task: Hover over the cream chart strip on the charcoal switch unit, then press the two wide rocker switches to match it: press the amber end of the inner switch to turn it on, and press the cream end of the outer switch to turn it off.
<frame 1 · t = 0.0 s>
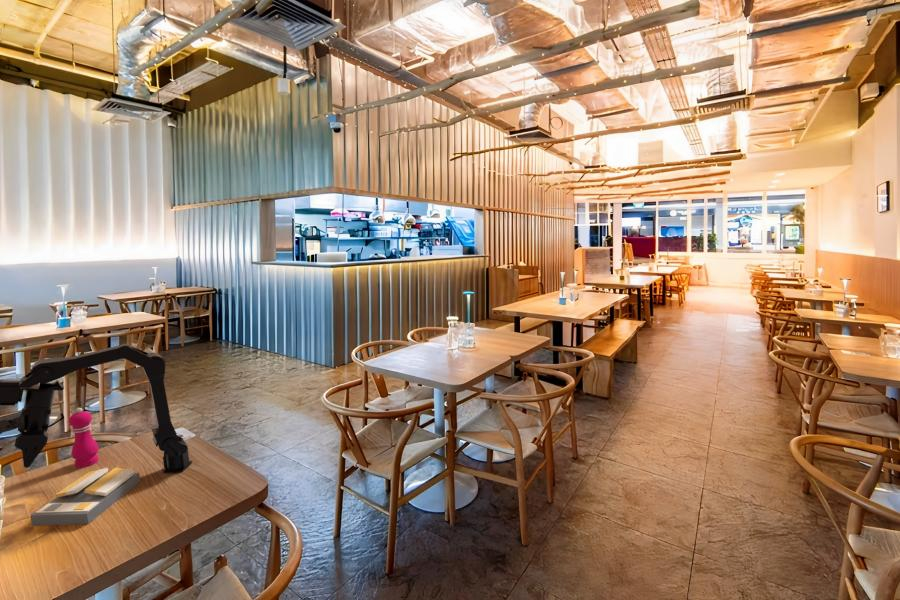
hand: (27, 460, 121), 15 cm above the table, tool pointing down, fingers open, 9 cm apart
switch a: (111, 481, 130), point 4 cm above the table, hinge at -12.0°
switch unit: (90, 501, 128), on the table
switch b: (83, 481, 130), point 4 cm above the table, hinge at 12.0°
pepper mill: (87, 463, 150), on the table
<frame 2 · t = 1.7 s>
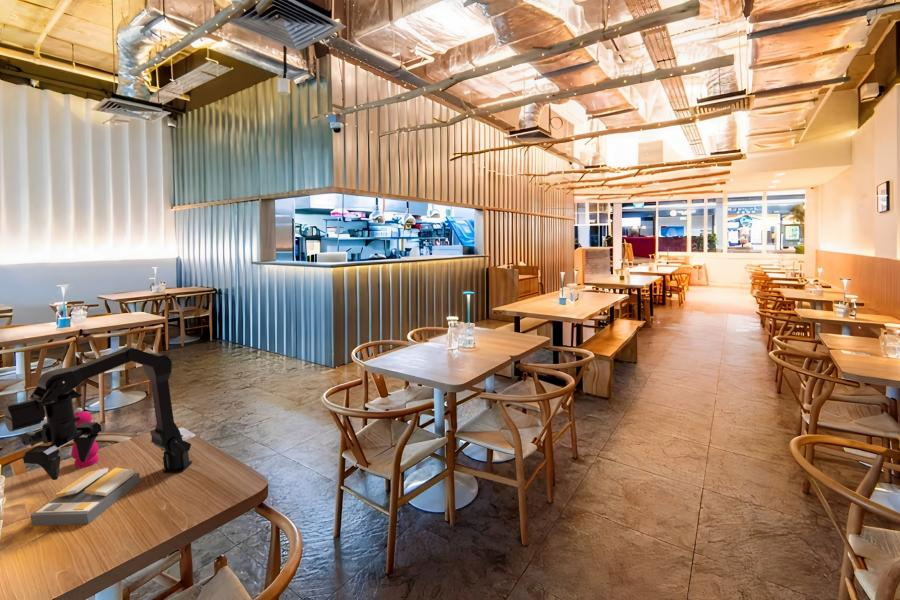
hand: (69, 470, 121), 13 cm above the table, tool pointing down, fingers open, 9 cm apart
nothing on the table moved.
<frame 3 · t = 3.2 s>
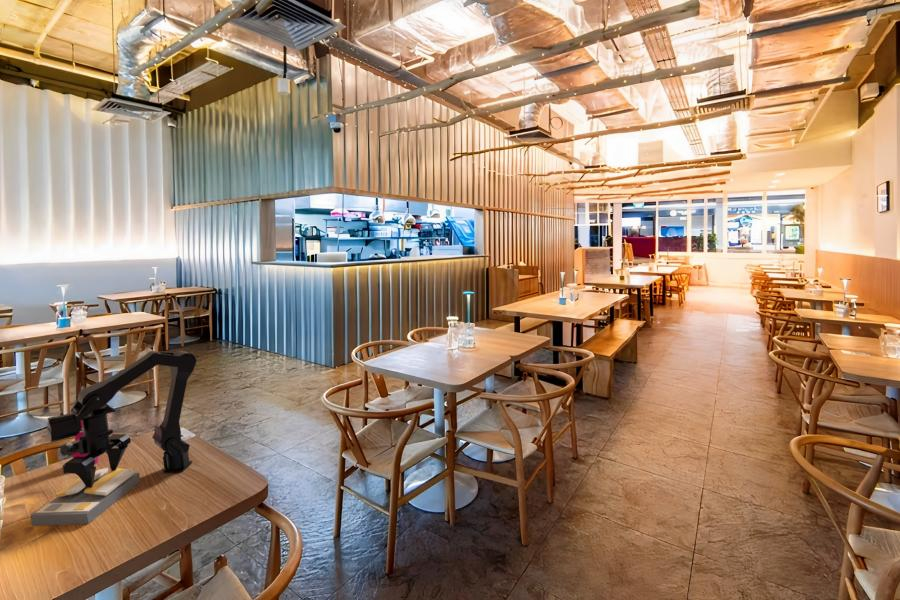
hand: (102, 479, 130), 5 cm above the table, tool pointing down
switch a: (111, 481, 130), point 4 cm above the table, hinge at -9.8°, touching gripper
everything else where it was.
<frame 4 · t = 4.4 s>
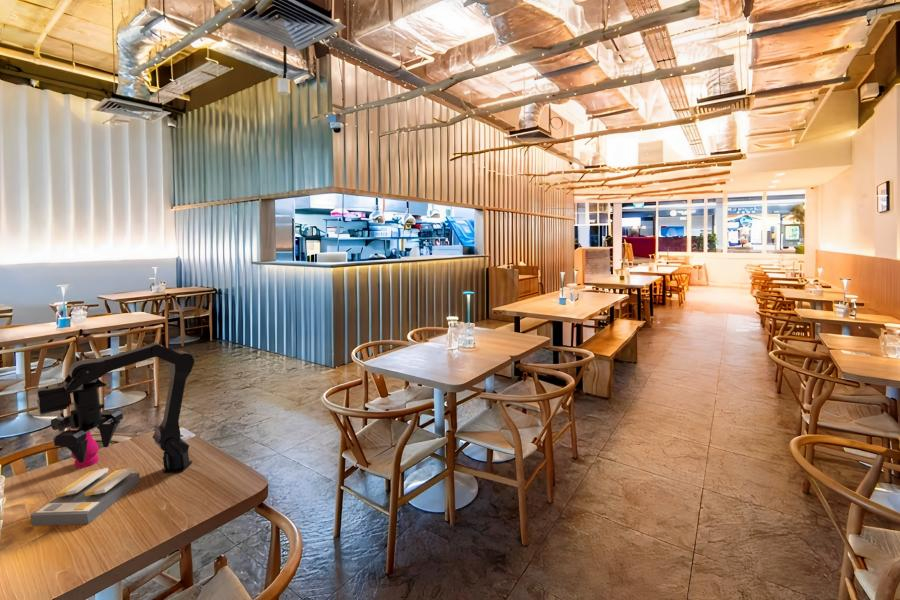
hand: (94, 454, 129), 13 cm above the table, tool pointing down, fingers open, 9 cm apart
switch a: (110, 481, 130), point 4 cm above the table, hinge at 9.8°
everything else where it was.
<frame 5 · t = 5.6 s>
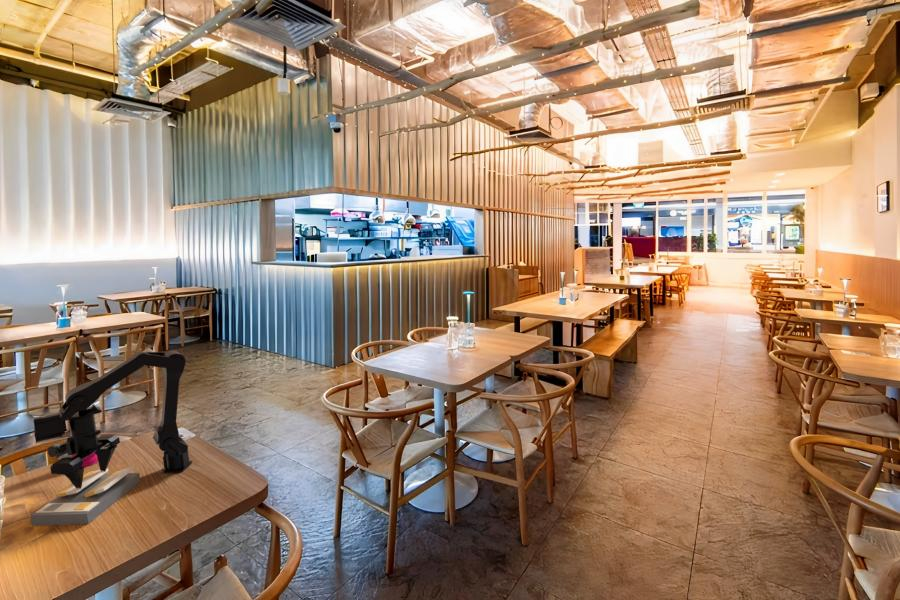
hand: (91, 479, 130), 5 cm above the table, tool pointing down
switch a: (110, 481, 130), point 4 cm above the table, hinge at 19.0°
switch b: (83, 481, 130), point 4 cm above the table, hinge at 11.3°, touching gripper
everything else where it was.
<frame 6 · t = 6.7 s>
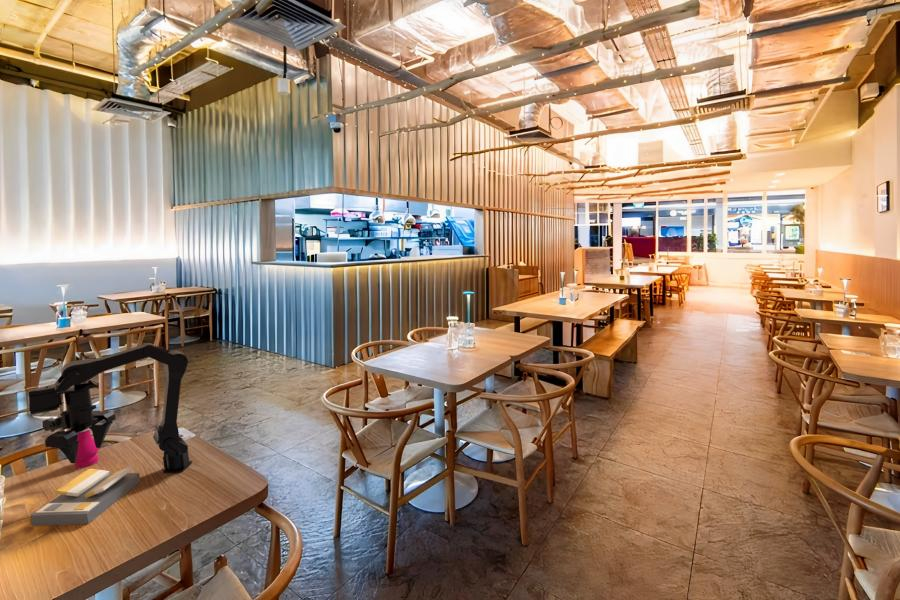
hand: (86, 455, 129), 13 cm above the table, tool pointing down, fingers open, 9 cm apart
switch a: (110, 481, 130), point 4 cm above the table, hinge at 22.3°, touching switch unit
switch b: (83, 481, 130), point 4 cm above the table, hinge at -10.7°
everything else where it was.
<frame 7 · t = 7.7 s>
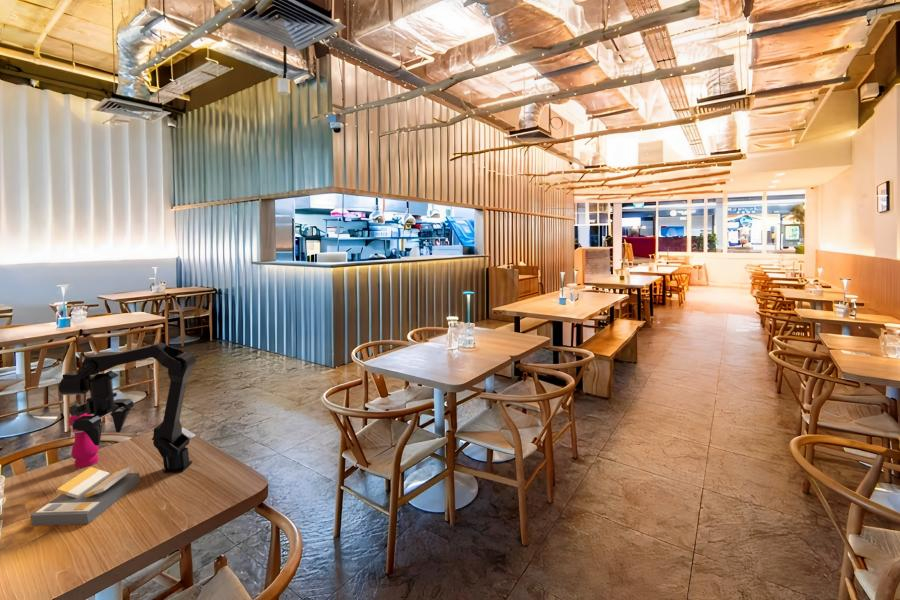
hand: (108, 438, 142), 12 cm above the table, tool pointing down, fingers open, 9 cm apart
switch a: (110, 481, 130), point 4 cm above the table, hinge at 20.4°, touching switch unit
switch b: (84, 481, 130), point 4 cm above the table, hinge at -21.3°, touching switch unit
everything else where it was.
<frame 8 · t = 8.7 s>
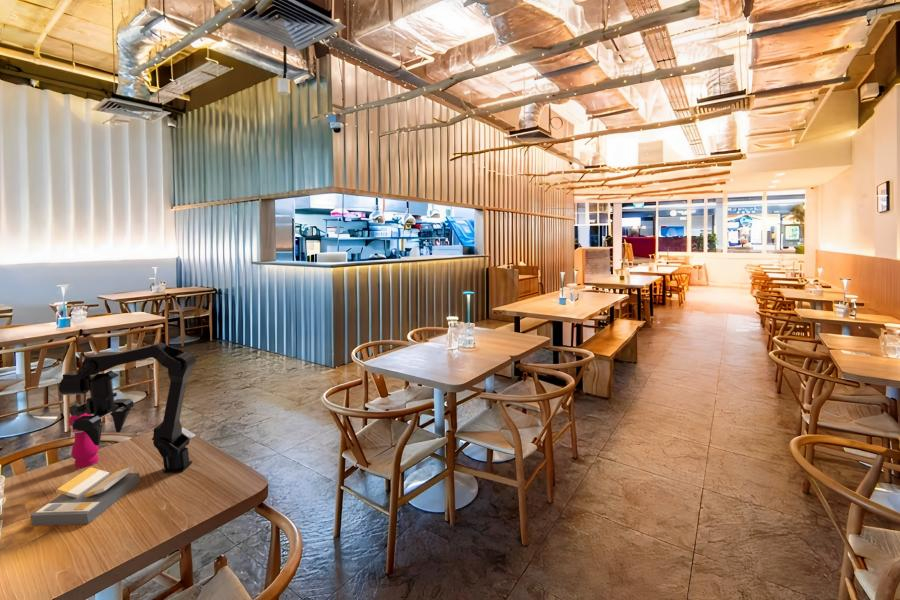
hand: (108, 438, 142), 12 cm above the table, tool pointing down, fingers open, 9 cm apart
switch a: (110, 481, 130), point 4 cm above the table, hinge at 19.1°
switch b: (84, 481, 130), point 4 cm above the table, hinge at -19.7°, touching switch unit
everything else where it was.
at the end: switch a at +19° (first picture: -12°); switch b at -19° (first picture: +12°) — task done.
